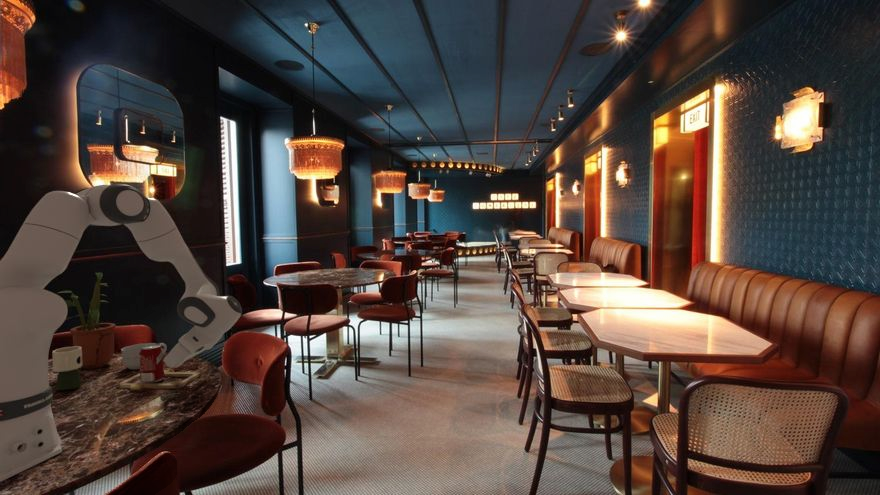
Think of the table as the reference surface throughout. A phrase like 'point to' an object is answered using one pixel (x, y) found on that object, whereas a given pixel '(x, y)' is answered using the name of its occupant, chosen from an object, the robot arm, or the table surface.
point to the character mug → (67, 367)
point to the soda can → (151, 363)
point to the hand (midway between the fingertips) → (175, 365)
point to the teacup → (134, 355)
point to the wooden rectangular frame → (167, 373)
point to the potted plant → (93, 332)
